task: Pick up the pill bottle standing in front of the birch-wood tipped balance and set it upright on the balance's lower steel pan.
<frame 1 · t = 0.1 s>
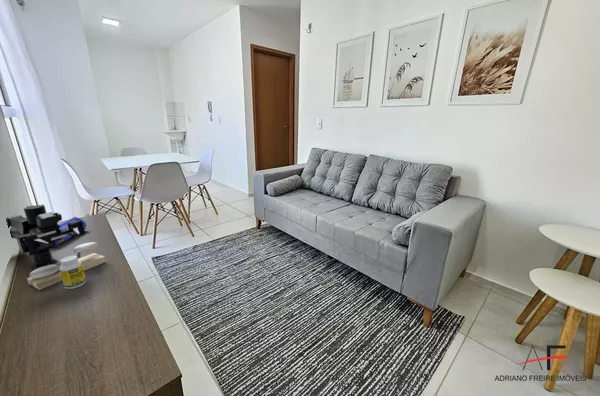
hand: (64, 239, 93), 17 cm above the sideboard, tool horizontal, fingers open, 9 cm apart
balance: (70, 272, 102), on the sideboard
pill bottle: (75, 285, 94), on the sideboard
pencil case: (67, 239, 132), on the sideboard
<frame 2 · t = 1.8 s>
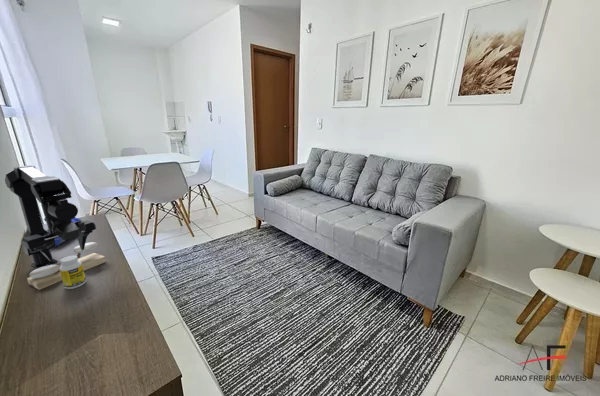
hand: (67, 255, 91), 12 cm above the sideboard, tool pointing down, fingers open, 9 cm apart
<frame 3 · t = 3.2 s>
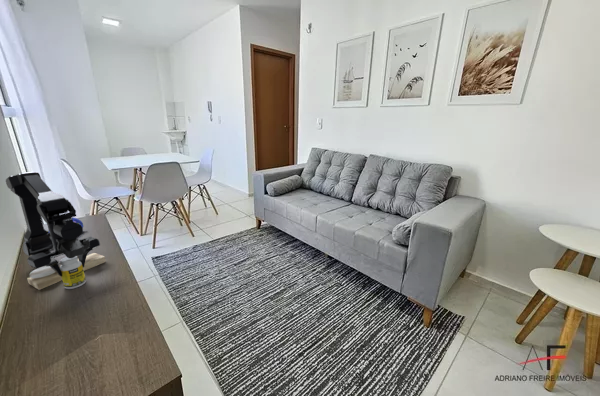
hand: (72, 271, 92), 6 cm above the sideboard, tool pointing down, fingers closed on pill bottle, 6 cm apart
pill bottle: (75, 285, 94), on the sideboard, touching gripper
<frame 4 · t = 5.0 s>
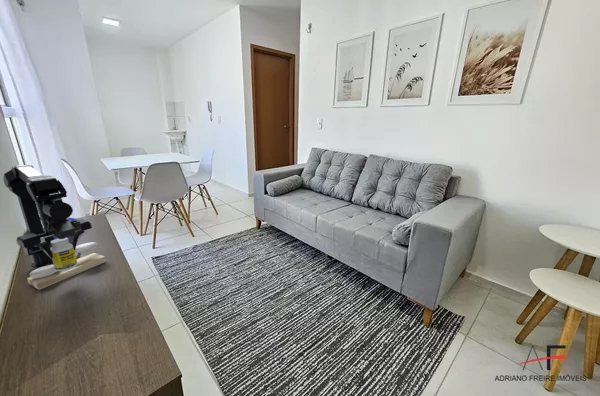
hand: (63, 253, 91), 13 cm above the sideboard, tool pointing down, fingers closed on pill bottle, 6 cm apart
pill bottle: (66, 267, 93), point 7 cm above the sideboard, touching gripper
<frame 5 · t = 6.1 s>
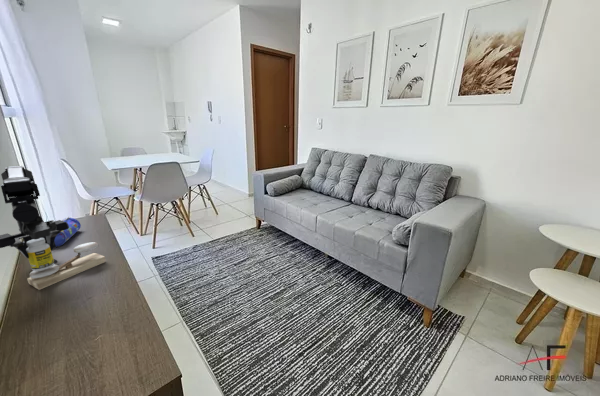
hand: (39, 253, 93), 12 cm above the sideboard, tool pointing down, fingers closed on pill bottle, 6 cm apart
pill bottle: (43, 267, 94), point 6 cm above the sideboard, touching gripper
when the fingers open (11 cm above the sideboard, at t = 7.0 s): pill bottle stays where it is, resting on balance.
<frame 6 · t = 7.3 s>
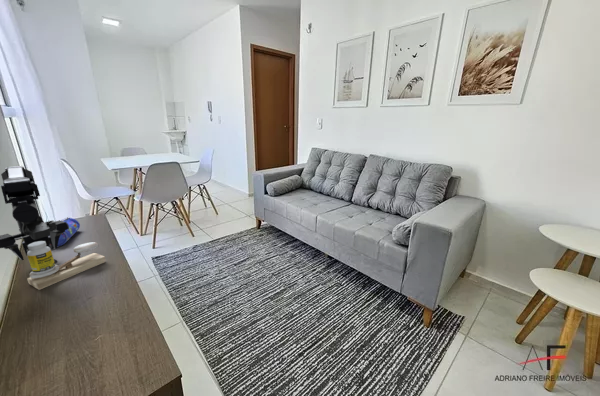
hand: (39, 254, 93), 11 cm above the sideboard, tool pointing down, fingers open, 9 cm apart
pill bottle: (44, 270, 95), point 5 cm above the sideboard, touching balance
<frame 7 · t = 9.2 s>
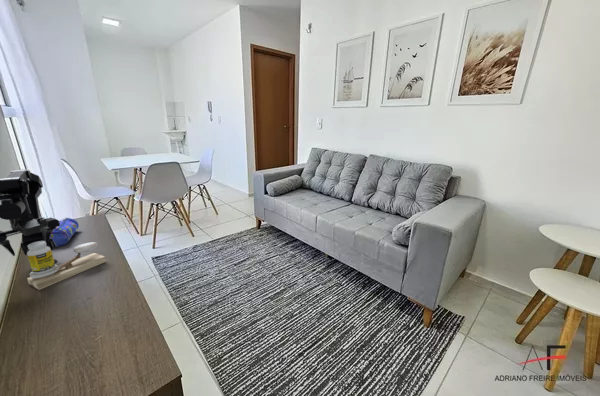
hand: (31, 250, 96), 12 cm above the sideboard, tool pointing down, fingers open, 9 cm apart
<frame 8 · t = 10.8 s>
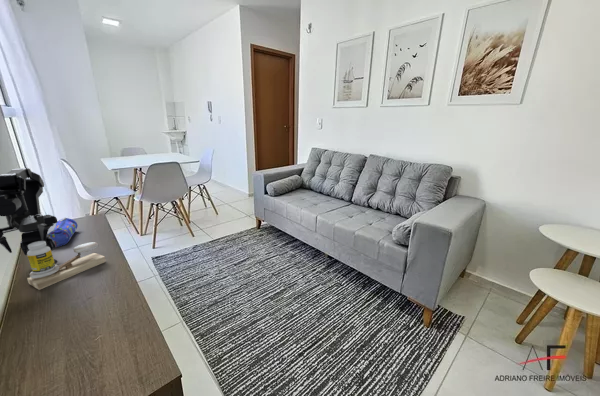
hand: (28, 247, 95), 13 cm above the sideboard, tool pointing down, fingers open, 9 cm apart
at the end: pill bottle 0.5 cm from the target spot on the balance, point 4.6 cm above the balance's base; pill bottle tilted 0°; the gripper is holding nothing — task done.
